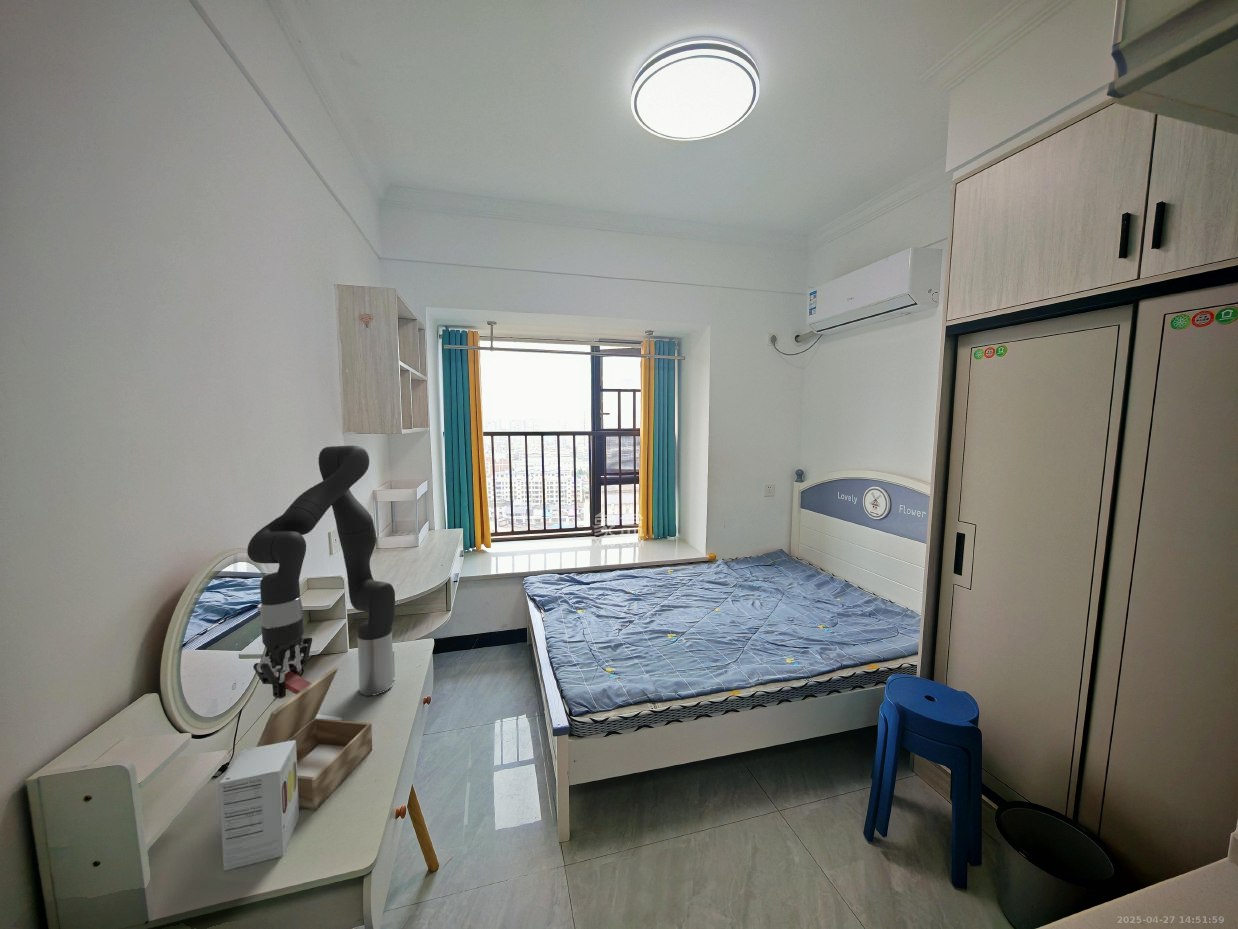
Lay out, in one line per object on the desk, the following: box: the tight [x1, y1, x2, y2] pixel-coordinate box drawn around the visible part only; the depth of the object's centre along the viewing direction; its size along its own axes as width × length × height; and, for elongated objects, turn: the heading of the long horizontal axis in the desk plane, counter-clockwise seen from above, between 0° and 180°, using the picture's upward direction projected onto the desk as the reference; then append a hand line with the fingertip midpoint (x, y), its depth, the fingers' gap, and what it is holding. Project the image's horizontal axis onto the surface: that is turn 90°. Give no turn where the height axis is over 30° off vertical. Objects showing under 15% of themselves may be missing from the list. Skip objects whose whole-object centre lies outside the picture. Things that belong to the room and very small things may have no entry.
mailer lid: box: [256, 666, 339, 747], centre depth 103 cm, size 18×15×7 cm
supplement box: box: [218, 740, 300, 871], centre depth 86 cm, size 10×9×17 cm
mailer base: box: [288, 718, 373, 812], centre depth 103 cm, size 18×15×7 cm
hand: (287, 692), depth 102 cm, fingers closed on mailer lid, 3 cm apart
